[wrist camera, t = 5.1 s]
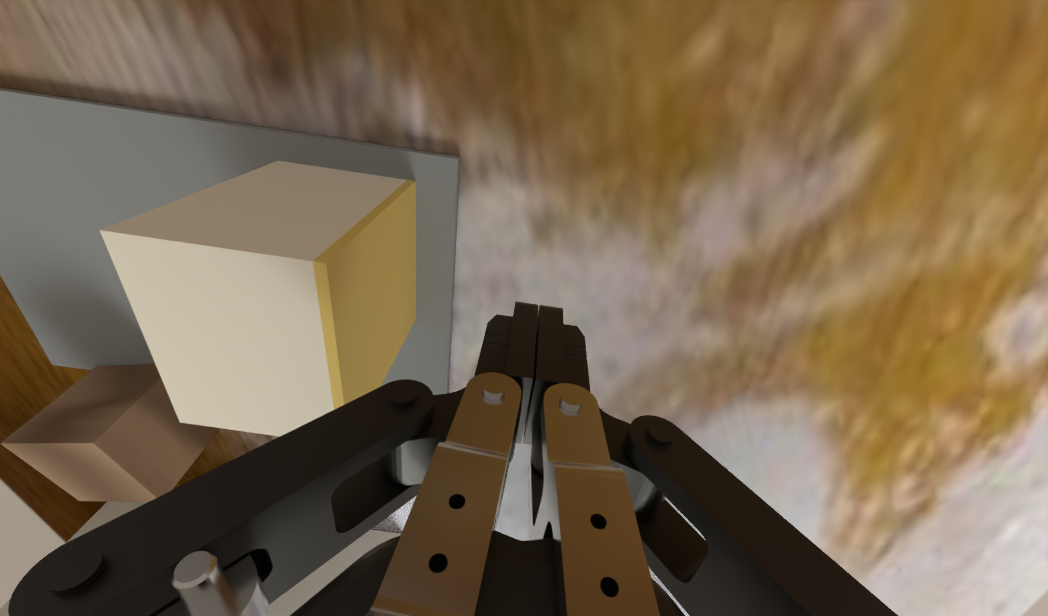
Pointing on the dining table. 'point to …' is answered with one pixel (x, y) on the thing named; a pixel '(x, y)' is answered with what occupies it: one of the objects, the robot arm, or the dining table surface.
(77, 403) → the walnut cube
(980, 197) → the dining table surface
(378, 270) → the cream block
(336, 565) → the toy caddy
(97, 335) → the mat
